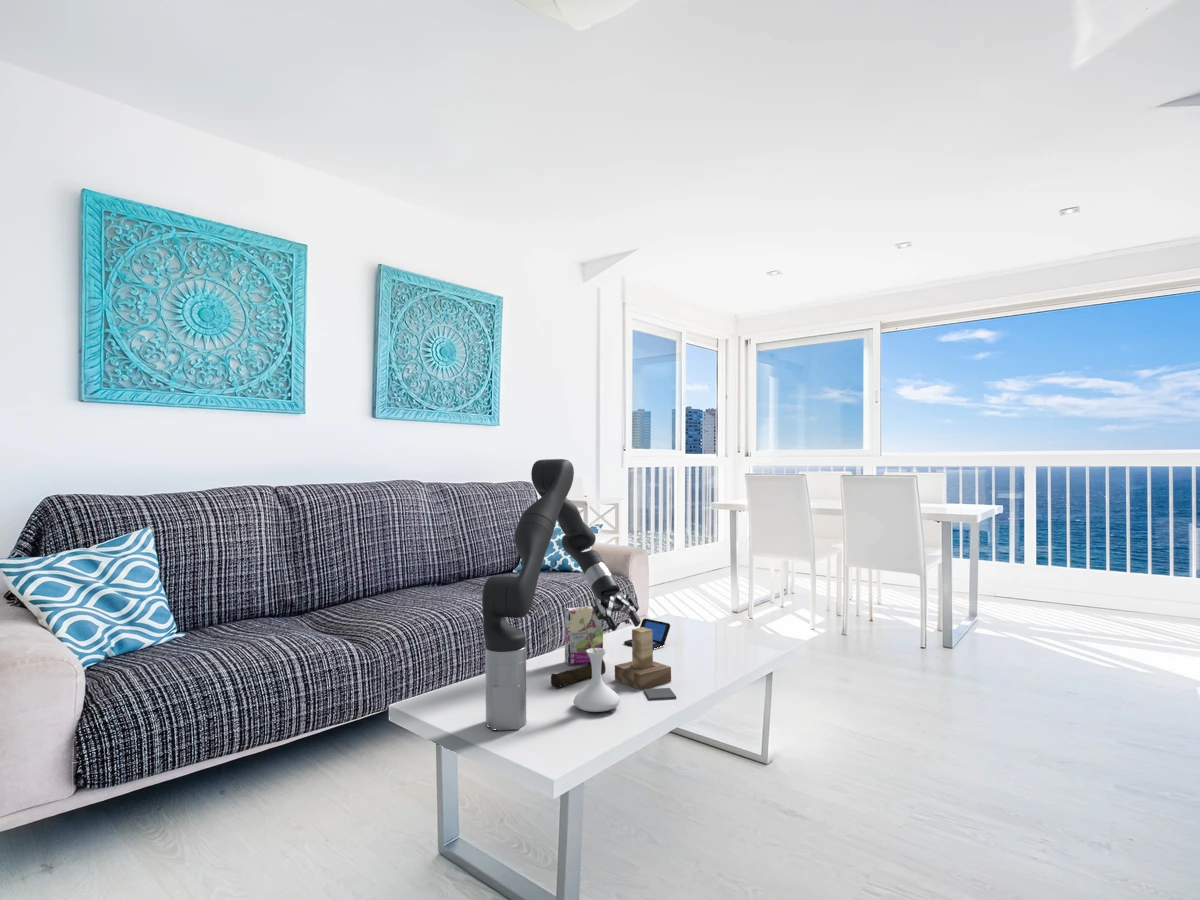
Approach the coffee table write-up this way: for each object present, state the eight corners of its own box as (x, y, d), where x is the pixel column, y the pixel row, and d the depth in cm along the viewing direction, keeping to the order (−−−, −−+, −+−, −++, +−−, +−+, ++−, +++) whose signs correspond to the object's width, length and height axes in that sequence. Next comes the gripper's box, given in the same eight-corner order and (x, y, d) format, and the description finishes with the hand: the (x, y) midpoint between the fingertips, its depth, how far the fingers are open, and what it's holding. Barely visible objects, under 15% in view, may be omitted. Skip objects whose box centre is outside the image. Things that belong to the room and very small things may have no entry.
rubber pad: (676, 698, 160) (676, 696, 160) (649, 700, 159) (649, 698, 159) (669, 689, 167) (669, 687, 167) (643, 691, 166) (643, 689, 166)
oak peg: (653, 681, 174) (652, 629, 175) (642, 684, 172) (641, 631, 173) (643, 677, 178) (642, 627, 178) (632, 680, 175) (631, 629, 176)
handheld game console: (622, 645, 214) (622, 622, 215) (643, 639, 222) (643, 617, 222) (650, 651, 205) (650, 628, 206) (671, 645, 213) (671, 623, 213)
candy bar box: (568, 666, 190) (568, 610, 190) (564, 661, 194) (563, 607, 195) (604, 662, 193) (603, 608, 194) (599, 658, 198) (598, 605, 199)
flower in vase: (606, 697, 162) (605, 598, 163) (628, 711, 152) (627, 605, 153) (559, 706, 156) (558, 603, 157) (579, 721, 146) (578, 611, 147)
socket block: (671, 681, 174) (670, 666, 174) (641, 690, 167) (640, 674, 167) (644, 672, 182) (644, 658, 183) (614, 680, 176) (614, 665, 176)
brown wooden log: (558, 690, 168) (558, 672, 168) (549, 686, 171) (549, 669, 171) (611, 675, 181) (611, 659, 181) (602, 672, 184) (602, 656, 184)
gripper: (587, 576, 184) (613, 622, 174) (625, 571, 193) (651, 615, 183) (577, 592, 188) (601, 638, 178) (614, 587, 196) (639, 631, 187)
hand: (626, 627), depth 180 cm, fingers open, 8 cm apart
